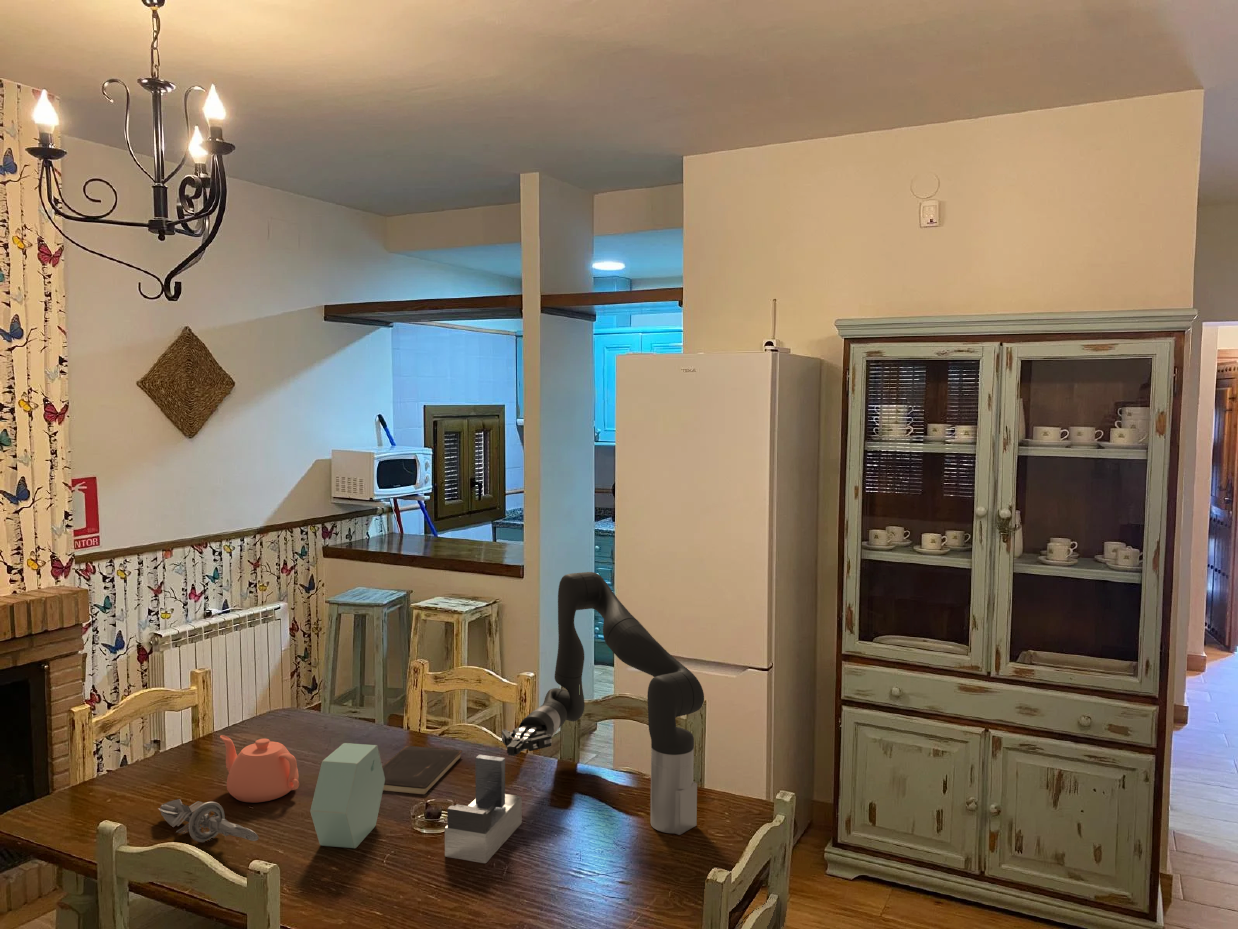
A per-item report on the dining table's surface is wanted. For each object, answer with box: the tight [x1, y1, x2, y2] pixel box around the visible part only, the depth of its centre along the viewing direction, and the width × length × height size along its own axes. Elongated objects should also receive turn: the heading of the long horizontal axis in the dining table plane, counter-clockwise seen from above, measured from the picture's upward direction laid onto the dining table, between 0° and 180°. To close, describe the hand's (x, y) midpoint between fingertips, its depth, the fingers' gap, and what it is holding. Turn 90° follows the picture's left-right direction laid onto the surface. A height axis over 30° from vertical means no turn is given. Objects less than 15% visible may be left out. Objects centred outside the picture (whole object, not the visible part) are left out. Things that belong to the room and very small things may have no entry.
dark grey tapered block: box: [473, 754, 506, 811], centre depth 185 cm, size 11×6×10 cm, turn 163°
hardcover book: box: [382, 745, 463, 795], centre depth 221 cm, size 16×23×2 cm
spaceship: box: [157, 798, 260, 843], centre depth 185 cm, size 8×35×8 cm
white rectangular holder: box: [444, 793, 523, 864], centre depth 187 cm, size 18×9×10 cm, turn 163°
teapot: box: [219, 734, 300, 803], centre depth 209 cm, size 22×16×12 cm
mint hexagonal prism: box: [309, 742, 385, 849], centre depth 188 cm, size 17×8×21 cm
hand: (511, 751), depth 199 cm, fingers closed
